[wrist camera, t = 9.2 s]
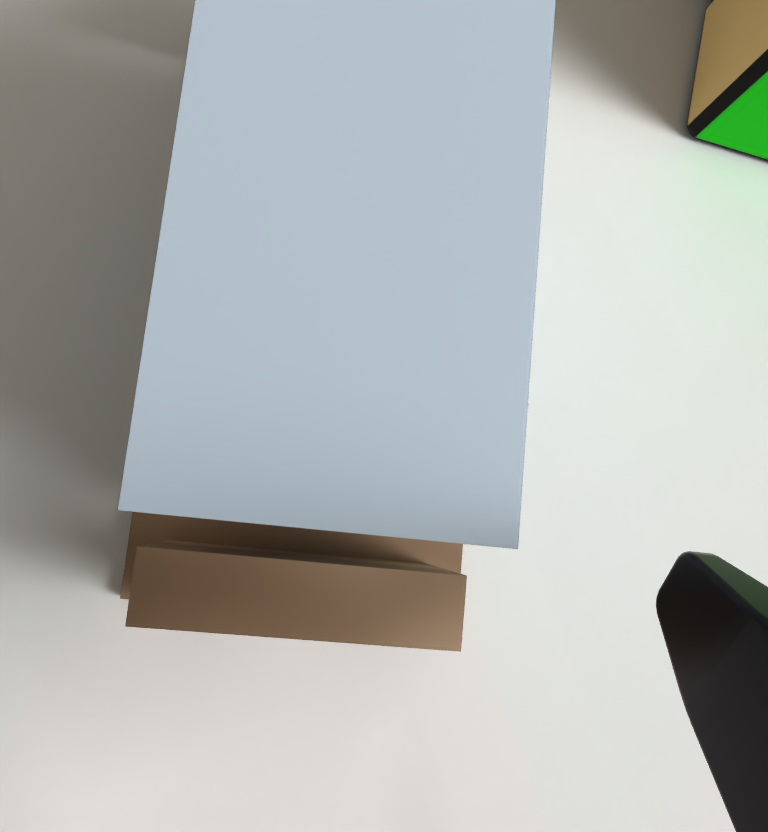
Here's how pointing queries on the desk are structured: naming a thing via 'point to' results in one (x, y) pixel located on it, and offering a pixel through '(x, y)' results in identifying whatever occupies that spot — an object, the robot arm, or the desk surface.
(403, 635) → the peg rest
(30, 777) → the desk surface
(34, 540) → the desk surface
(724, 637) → the robot arm
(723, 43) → the puzzle cube
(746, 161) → the desk surface
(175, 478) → the pale blue block
